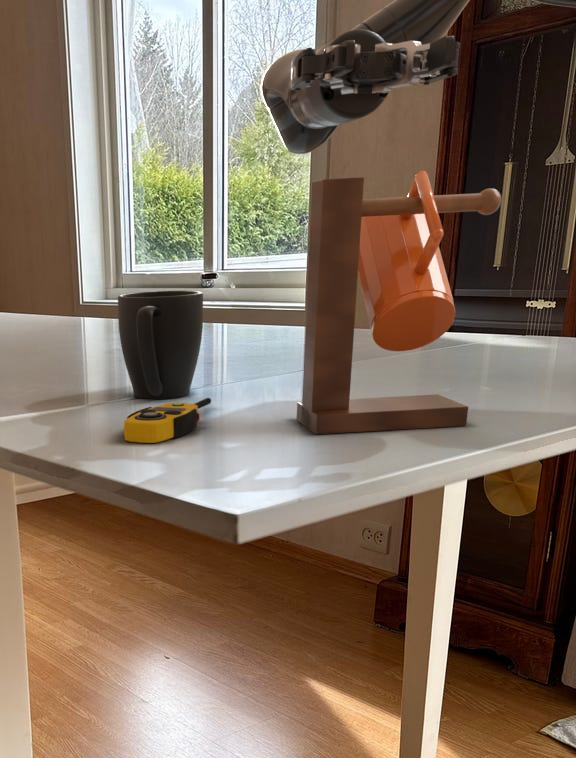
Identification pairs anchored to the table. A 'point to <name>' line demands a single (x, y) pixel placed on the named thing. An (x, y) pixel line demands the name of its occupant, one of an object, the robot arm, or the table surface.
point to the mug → (161, 341)
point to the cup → (405, 275)
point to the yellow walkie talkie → (162, 422)
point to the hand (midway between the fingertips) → (400, 52)
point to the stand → (337, 313)
